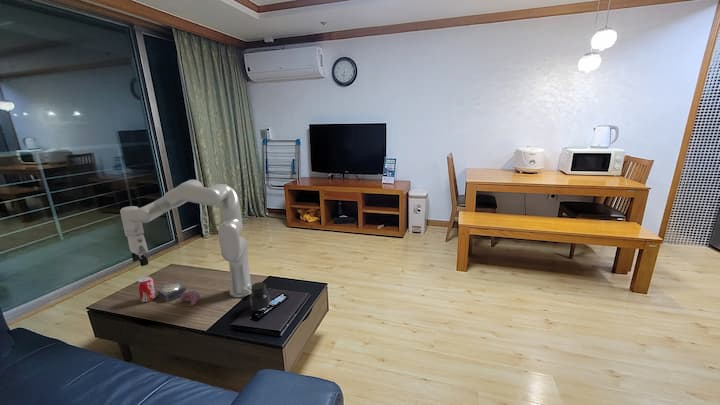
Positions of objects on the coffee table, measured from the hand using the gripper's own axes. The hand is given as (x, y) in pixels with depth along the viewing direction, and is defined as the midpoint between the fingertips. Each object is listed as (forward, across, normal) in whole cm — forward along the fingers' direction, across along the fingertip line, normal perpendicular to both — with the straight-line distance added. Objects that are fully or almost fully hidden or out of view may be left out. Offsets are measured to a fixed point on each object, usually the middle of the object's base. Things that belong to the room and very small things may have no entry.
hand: (140, 262), depth 153 cm
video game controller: (+21, -21, -11) cm, 32 cm away
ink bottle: (+20, -56, -28) cm, 66 cm away
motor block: (+21, -5, -9) cm, 23 cm away
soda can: (+21, 0, 0) cm, 21 cm away
